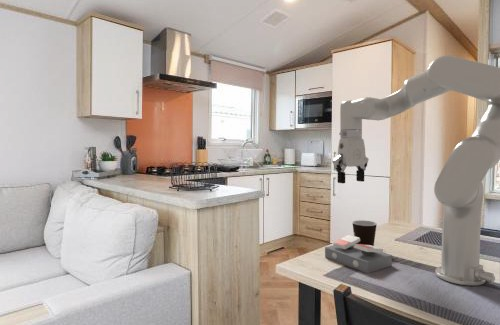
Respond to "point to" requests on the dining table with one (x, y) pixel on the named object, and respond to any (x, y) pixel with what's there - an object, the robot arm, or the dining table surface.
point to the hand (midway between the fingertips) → (351, 182)
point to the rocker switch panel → (359, 258)
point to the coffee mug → (365, 231)
